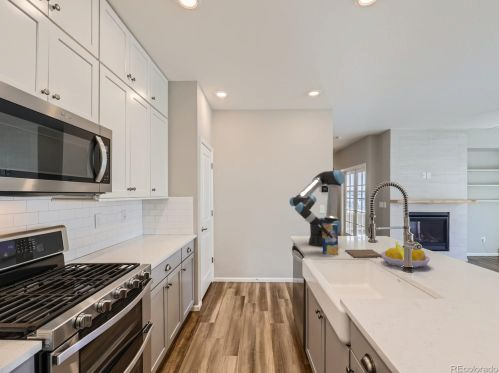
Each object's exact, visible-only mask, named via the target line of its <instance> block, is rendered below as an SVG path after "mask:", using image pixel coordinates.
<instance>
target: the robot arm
mask: <svg viewBox="0 0 499 373" xmlns="http://www.w3.org/2000/svg"><path fill="white" fill-rule="evenodd" d="M344 183H345V176H344V174H343V172H342V171H341V170H336V169H335V170H327V171H322V172H320V173H318V174H317V175H316V176H315V177H313V179H312V180H311V182H310V183H309V184H307V185H306V186H305V187H304V188H303V189H302V190H301V191H300V192H299V193H298V194H297V195H296V196H292V197H290V198H289V204H290V206H291V207H294V209H295V211H296V212H297V214H299V216H301V217H302V218H303V219H304V221H305V222H307V223H309V228H310V229H309V231H310V232H309V234H310V235H309V240H308V245H309V246H314V247H323V238H322V231H323V232H324V233H325V234H326V235H327V237H329V238H330V239H331V240H332V241H333V242H335V241H336V240H337V239H336V238H335V237H333V236H332V235H331V234H330V232H328V231H327V230H326V229H325V228H324V227H323V226H322V224H337V225H338V234H339V233H340V232H341V231H342V230H341V229H342V224H341V221H340V220H339V217H338V206H339V192H340V188H341V187H342V184H344ZM324 185H326V187H327V188H328V189H327V200H326V214H325V216H324V217H318V216H316V214H315V213H314V212H313V211H311V209H312V208H313V207H314V205H315V204H316V202H317V197H316V196H315V195H313V193H314V192H316V190H317V189H319V188H321V187H322V186H324ZM327 233H328V234H327Z"/></svg>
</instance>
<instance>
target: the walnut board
mask: <svg viewBox="0 0 499 373" xmlns="http://www.w3.org/2000/svg"><path fill="white" fill-rule="evenodd" d="M344 251H345V253H346V254H348V255H349V256H351V258H354V259H375V258H374V257H382V256H381V254H380V253H379V252H377V251H375V250H374V249H344Z"/></svg>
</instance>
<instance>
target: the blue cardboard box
mask: <svg viewBox="0 0 499 373" xmlns="http://www.w3.org/2000/svg"><path fill="white" fill-rule="evenodd" d="M322 226H323V227H324V228H325V229H326V230H327V231H328V232H330V234H331V235H332V236H333V237H335V238H336V239H337V240H336V241H335V242H333V241H332V240H331V239H330V238H329V237H327V235H326V234H325V233H324V232H323V231H322V238H323V246H322V255H326V254H329V256H334V255H335V256H338V255H339V236H338V235H339V233H338V225H337V224H322ZM327 234H328V233H327Z"/></svg>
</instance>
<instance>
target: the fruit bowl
mask: <svg viewBox="0 0 499 373" xmlns="http://www.w3.org/2000/svg"><path fill="white" fill-rule="evenodd" d="M395 244H396V245H395V247H390V248H389V249H387V250H385V251H383V252H380V253H379V254H381V256H382V258H381V259H383V260H384V261H385V262H387V263H389V264H391V265H393V264H394V265H393V266H396V265H398V266H397V267H400V266H403V265H404V260H403V257H404V250H405V249H404V248H403V247H402V246H401V245H399V244H398V241H397V242H395ZM430 261H431V257H429V256H428V255H426V254H425V251H424V250H422V249H421V250H412V266H413V267H412V268H420V267H422V266H427V265H428V264H429V262H430ZM419 266H420V267H419Z"/></svg>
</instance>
